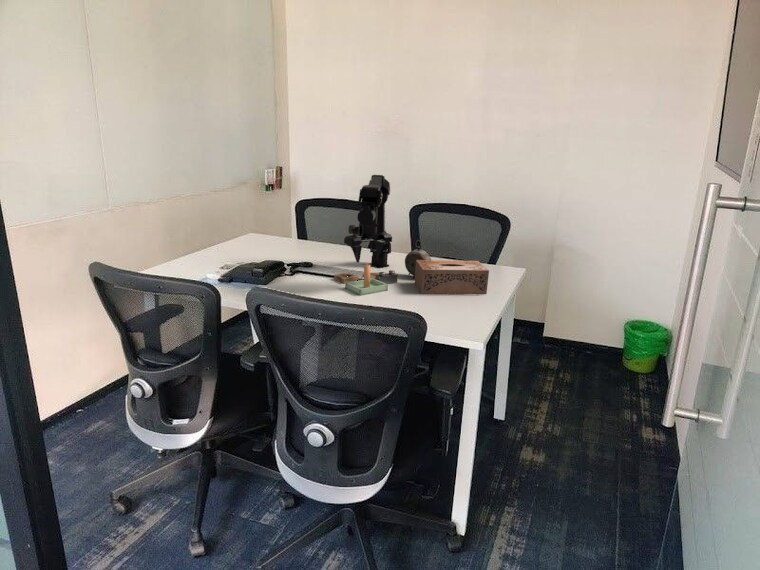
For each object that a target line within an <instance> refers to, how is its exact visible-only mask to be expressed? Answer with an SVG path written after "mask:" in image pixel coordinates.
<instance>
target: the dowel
mask: <svg viewBox="0 0 760 570" xmlns="http://www.w3.org/2000/svg"><path fill="white" fill-rule="evenodd" d="M363 266H364V267H363V274H364V288H368V287H370V273H371V266H372V265H370V264H369V263H368V264H367V263H366V264H364V265H363Z"/></svg>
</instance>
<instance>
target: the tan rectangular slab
mask: <svg viewBox="0 0 760 570" xmlns="http://www.w3.org/2000/svg"><path fill="white" fill-rule="evenodd" d="M379 272H380V271H379ZM379 272H378V271H377V272H370V278H374V279H375V275H379ZM383 272H384V273H385V274H387V272H385V271H383ZM362 277H364V273H363V274H362Z"/></svg>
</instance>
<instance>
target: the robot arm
mask: <svg viewBox="0 0 760 570" xmlns="http://www.w3.org/2000/svg"><path fill="white" fill-rule="evenodd" d="M390 195H391V183H390V182H389V180H387V179H386V178H385V175H382V174H372V175H371V178H370V180H369V183H368V184H365V185H362V186H361V189H360V190H359V196H358V202H357V206H358V207H361V210H360V211H359V212H358V213H357V216H356V217H357V221H358V222H359V224H358V226H356V225H355V224H352V225H351V224H350V225H348V234H350V235H346V236H345V237H344V238H343V239H344V241H343V244H346V245H347V246H348V247H350V248H351V251H352V253H353V255H354V258H355V262H356V263H360V261H361V253H362V248H363V247H362V243H365V242H366V243H367V242H369V252H370V253H372V255H371V262H370V263H369V265H371V266H373V267H375V268H385V267H389V266H390V264H388V255H389V254H391V253H392V243H391V242H393V236H392V234H391V233H388V232H387V231H386V214H385V213H386V202H387V201H388V198H389V196H390Z"/></svg>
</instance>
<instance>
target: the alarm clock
mask: <svg viewBox="0 0 760 570" xmlns="http://www.w3.org/2000/svg"><path fill="white" fill-rule="evenodd" d="M418 242H420V243H421V246H417V243H418ZM423 245H424V244H423V241H422V240H420V239H418V240H416V241H415V247H416V249H414V250H412V251H410V252H408V253H407V254H406V256H405V258H404V267H405V269H406V270H407V272H408V274H407V275H408V276H410V275H412V279H414V280H415V268H416V260H432V259H431V256H430V254H429V253H428V252H427V251H426V250H424V249H421V248H422V247H423Z"/></svg>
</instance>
